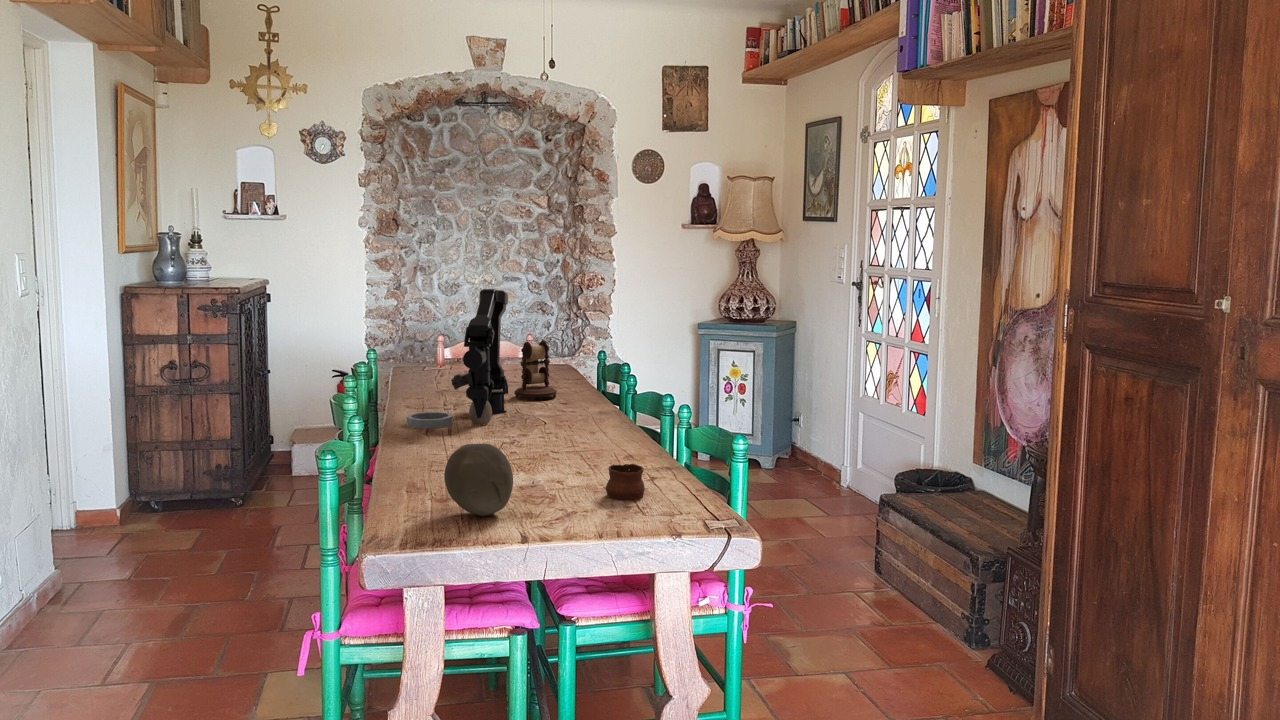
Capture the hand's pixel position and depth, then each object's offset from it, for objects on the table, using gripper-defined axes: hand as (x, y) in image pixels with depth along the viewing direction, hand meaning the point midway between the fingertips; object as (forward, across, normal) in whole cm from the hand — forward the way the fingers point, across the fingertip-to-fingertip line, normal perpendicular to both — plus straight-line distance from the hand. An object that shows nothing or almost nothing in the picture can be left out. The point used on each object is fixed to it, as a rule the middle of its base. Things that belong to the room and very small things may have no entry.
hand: (480, 415), depth 310 cm
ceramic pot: (+3, +85, +42) cm, 95 cm away
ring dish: (+2, 0, -15) cm, 15 cm away
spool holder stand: (+3, -48, +13) cm, 50 cm away
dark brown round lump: (+3, +100, +12) cm, 100 cm away
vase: (+3, 0, 0) cm, 3 cm away
